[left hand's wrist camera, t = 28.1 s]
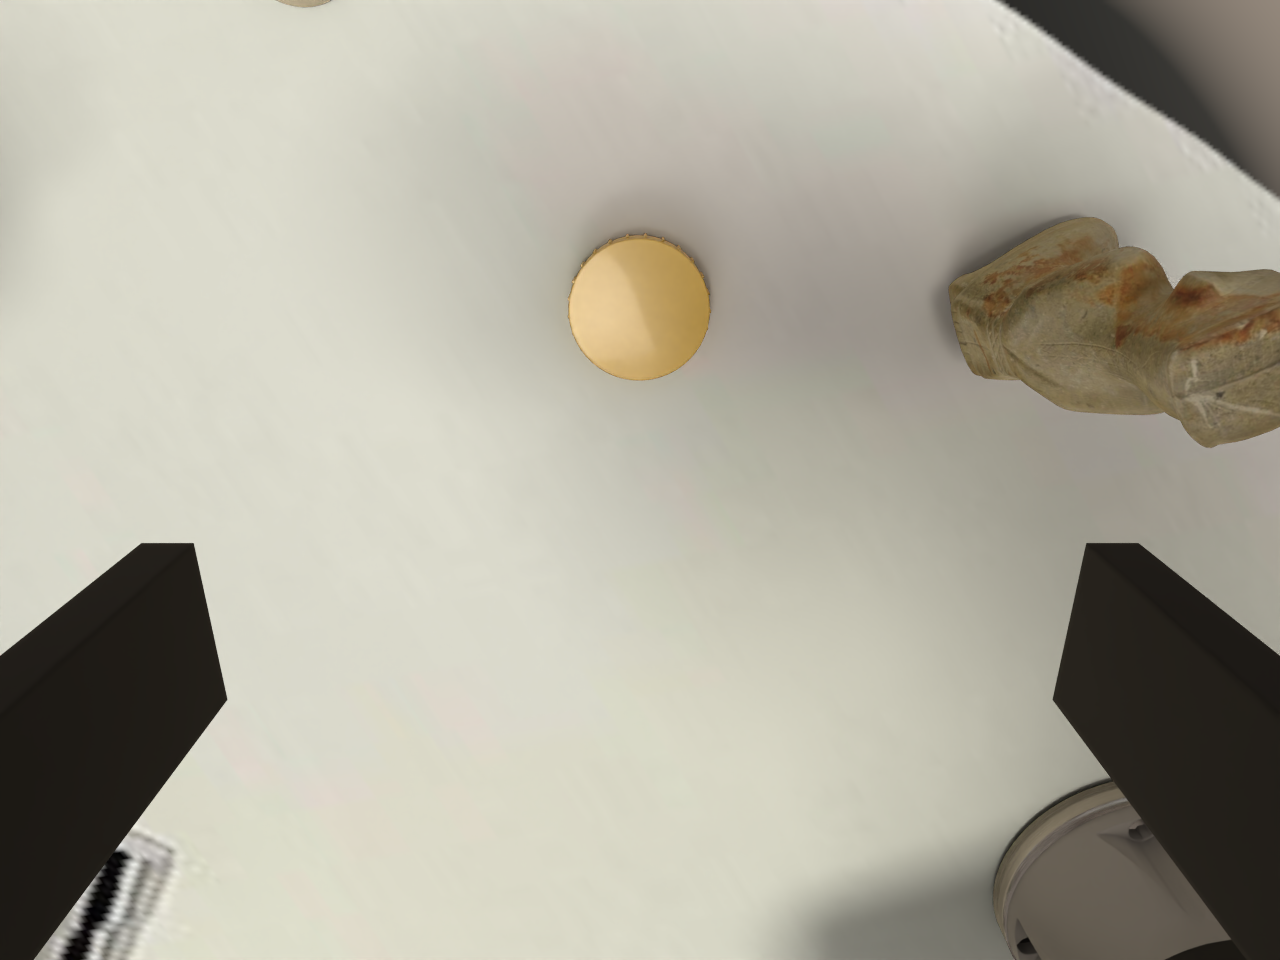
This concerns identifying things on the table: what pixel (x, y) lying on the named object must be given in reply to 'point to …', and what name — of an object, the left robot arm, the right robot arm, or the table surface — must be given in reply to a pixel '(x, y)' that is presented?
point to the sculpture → (1126, 332)
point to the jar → (304, 2)
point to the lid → (639, 307)
